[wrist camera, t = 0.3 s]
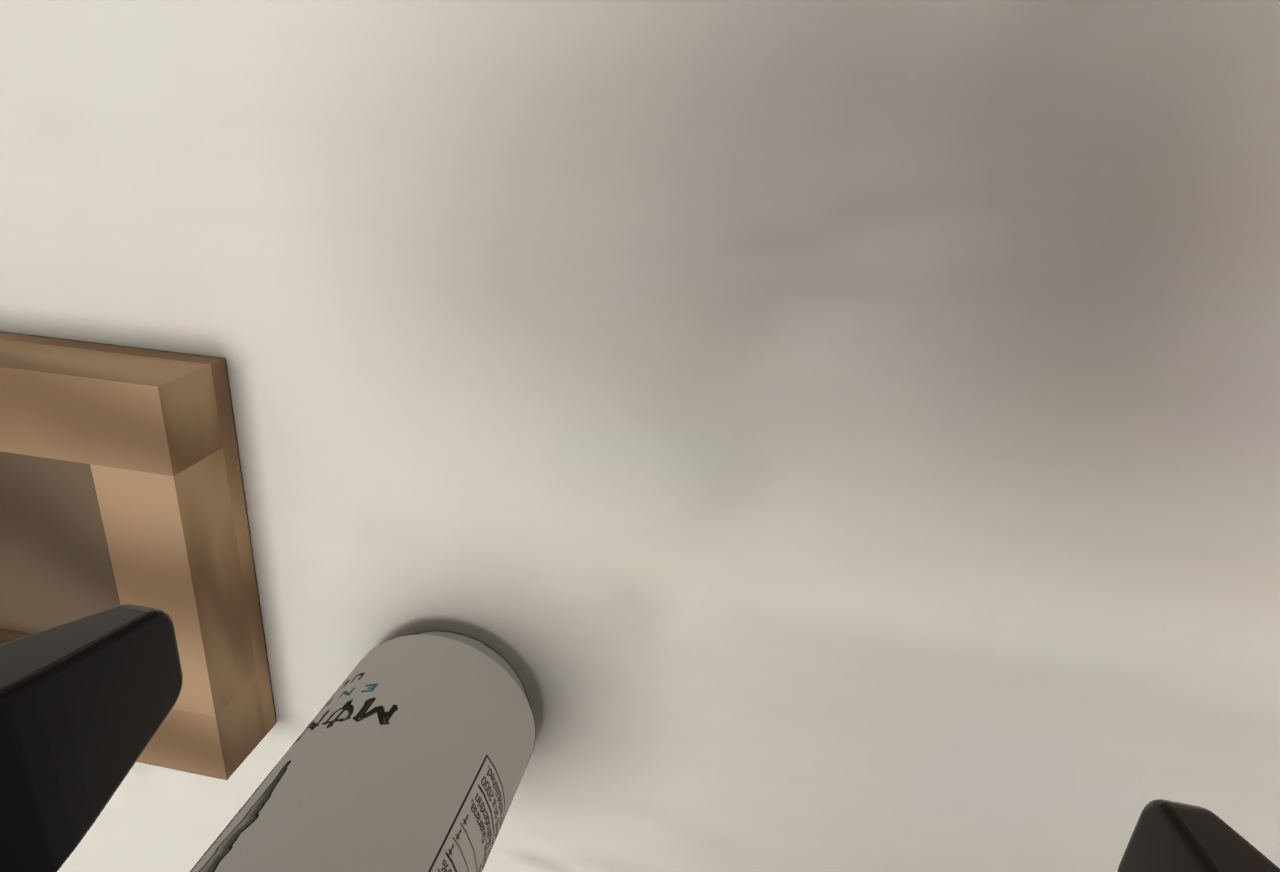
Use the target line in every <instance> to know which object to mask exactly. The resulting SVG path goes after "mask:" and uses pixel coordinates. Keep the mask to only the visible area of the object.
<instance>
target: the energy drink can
mask: <svg viewBox="0 0 1280 872" xmlns="http://www.w3.org/2000/svg"><path fill="white" fill-rule="evenodd" d="M535 734H536V732H535V724H534V717H533V714H532V711H531V709H530V706H529V703H528V701H527V697H526V694H525V691H524V688H523V685H522V683H521V681H520V680H519V678H518V676H517V675H516V673H515V671H514V670H513V669H512V668H511V667H510V665H509V664H508V663H507V662H506V661H505V660H504V659H503V658H502V657H501V656H500V655H498V654H497V653H496V652H495V651H494V650H492V649H491V648H489V647H487V646H486V645H484V644H482V643H481V642H479V641H477V640H474V639H472V638H469V637H467V636H464V635H460V634H456V633H451V632H440V631H433V632H425V633H420V634H416V635H408V636H400V637H397V638H394V639H391V640H388V641H385V642H383V643H382V644H380V645H378V646H377V647H375V648H374V649H372V650H371V651H370V652H369V653H368V654H367V655H366V656H365V657H364V658H363V659H362V660H361V661H360V663H359V664H358V665H357V666H356V667H355V669H354V670H353V671H352V672H351V674H350V675H349V676H348V677H347V679H346V680H345V681H344V682H343V684H342V685H341V686H340V687H339V688H338V690H337V691H336V692H335V693H334V695H333V696H332V697H331V698H330V700H329V701H328V702H327V703H326V704H325V706H324V707H323V708H322V709H321V711H320V712H319V713H318V714H317V716H316V717H315V718H314V719H313V720H312V722H311V723H310V724H309V725H308V727H307V728H306V729H305V730H304V732H303V733H302V734H301V735H300V737H299V738H298V739H297V740H296V741H295V743H294V744H293V745H292V746H291V748H290V749H289V750H288V751H287V753H286V754H285V755H284V756H283V757H282V759H281V760H280V761H279V762H278V764H277V765H276V766H275V767H274V769H273V770H272V771H271V772H270V773H269V775H268V776H267V777H266V778H265V780H264V781H263V782H262V783H261V785H260V786H259V787H258V788H257V790H256V791H255V792H254V793H253V794H252V796H251V797H250V798H249V799H248V801H247V802H246V803H245V804H244V806H243V807H242V808H241V809H240V810H239V812H238V813H237V814H236V815H235V817H234V818H233V819H232V820H231V822H230V823H229V824H228V825H227V826H226V828H225V829H224V830H223V831H222V833H221V834H220V835H219V836H218V838H217V839H216V840H215V841H214V843H213V844H212V845H211V846H210V847H209V849H208V850H207V851H206V852H205V854H204V855H203V856H202V857H201V859H200V860H199V861H198V862H197V863H196V865H195V866H194V867H193V868H192V870H191V871H190V872H482V870H483V868H484V866H485V863H486V861H487V858H488V856H489V854H490V851H491V849H492V847H493V844H494V842H495V840H496V837H497V835H498V833H499V830H500V828H501V826H502V823H503V821H504V818H505V816H506V814H507V811H508V809H509V807H510V804H511V802H512V800H513V797H514V795H515V793H516V790H517V788H518V786H519V783H520V781H521V778H522V776H523V774H524V771H525V769H526V767H527V764H528V762H529V759H530V757H531V754H532V752H533V749H534V743H535Z"/></svg>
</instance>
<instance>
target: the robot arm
mask: <svg viewBox="0 0 1280 872" xmlns="http://www.w3.org/2000/svg"><path fill="white" fill-rule="evenodd" d="M182 682H183V674H182V668H181V662H180V657H179V651H178V645H177V639H176V634H175V628H174V623H173V620H172V619H171V617H170V616H169V614H168V613H167V612H165V611H163V610H160V609H156V608H150V607H145V606H140V605H135V604H123V605H119V606H116V607H113V608H110V609H107V610H104V611H100V612H97V613H94V614H91V615H88V616H85V617H82V618H79V619H76V620H73V621H70V622H67V623H64V624H61V625H58V626H55V627H52V628H49V629H46V630H43V631H40V632H37V633H34V634H31V635H28V636H25V637H22V638H18V639H15V640H12V641H9V642H6V643H3V644H0V872H57V871H58V870H59V868H60V867H61V866H62V865H63V863H64V862H65V861H66V859H67V858H68V857H69V856H70V854H71V853H72V852H73V851H74V849H75V848H76V847H77V845H78V844H79V843H80V841H81V840H82V838H83V837H84V836H85V834H86V833H87V831H88V830H89V829H90V827H91V826H92V825H93V823H94V822H95V820H96V819H97V817H98V816H99V815H100V813H101V812H102V810H103V809H104V807H105V806H106V804H107V803H108V801H109V800H110V798H111V797H112V796H113V794H114V793H115V791H116V790H117V788H118V787H119V785H120V784H121V782H122V781H123V780H124V778H125V777H126V775H127V774H128V772H129V771H130V769H131V768H132V766H133V765H134V763H135V762H136V761H137V759H138V758H139V756H140V755H141V753H142V752H143V750H144V749H145V747H146V746H147V744H148V743H149V742H150V740H151V739H152V737H153V736H154V734H155V733H156V731H157V730H158V728H159V727H160V726H161V724H162V723H163V721H164V720H165V718H166V717H167V715H168V714H169V712H170V711H171V709H172V708H173V707H174V705H175V703H176V701H177V699H178V697H179V695H180V692H181V688H182ZM1118 872H1280V868H1278V867H1277V866H1276V865H1275V864H1274V863H1272V862H1271V861H1270V860H1269V859H1268V858H1266V857H1265V856H1264V855H1263V854H1262V853H1261V852H1259V851H1258V850H1257V849H1256V848H1255V847H1253V846H1252V845H1251V844H1250V843H1249V842H1248V841H1246V840H1245V839H1244V838H1243V837H1242V836H1240V835H1239V834H1238V833H1237V832H1236V831H1234V830H1233V829H1232V828H1231V827H1230V826H1229V825H1227V824H1226V823H1225V822H1224V821H1223V820H1221V819H1220V818H1219V817H1218V816H1216V815H1215V814H1214V813H1212V812H1211V811H1209V810H1207V809H1205V808H1202V807H1199V806H1193V805H1188V804H1183V803H1178V802H1172V801H1167V800H1153V801H1151V802H1149V803H1148V804H1147V805H1146V806H1145V807H1144V809H1143V811H1142V813H1141V815H1140V817H1139V820H1138V822H1137V824H1136V827H1135V829H1134V832H1133V834H1132V836H1131V839H1130V841H1129V843H1128V846H1127V848H1126V850H1125V853H1124V855H1123V858H1122V860H1121V862H1120V865H1119V868H1118Z"/></svg>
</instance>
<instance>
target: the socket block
mask: <svg viewBox="0 0 1280 872" xmlns="http://www.w3.org/2000/svg"><path fill="white" fill-rule="evenodd" d="M123 604H135V605H140V606H145V607H150V608H156V609H160V610H163V611H165V612H167V613H168V614H169V616H170V617H171V619H172V620H173V623H174V628H175V634H176V639H177V645H178V651H179V657H180V662H181V668H182V674H183V682H182V688H181V692H180V695H179V697H178V699H177V701H176V703H175V705H174V707H173V708H172V709H171V711H170V712H169V714H168V715H167V717H166V718H165V720H164V721H163V723H162V724H161V726H160V727H159V728H158V730H157V731H156V733H155V734H154V736H153V737H152V739H151V740H150V742H149V743H148V744H147V746H146V747H145V749H144V750H143V752H142V753H141V755H140V756H139V758H138V759H137V761H136V762H141V763H145V764H150V765H155V766H160V767H165V768H170V769H175V770H180V771H185V772H190V773H194V774H199V775H204V776H209V777H214V778H219V779H224V780H227V779H228V778H229V777H230V776H231V775H232V774H233V772H234V771H235V770H236V769H237V768H238V767H239V765H240V764H241V763H242V762H243V761H244V760H245V759H246V757H247V756H248V755H249V754H250V753H251V752H252V750H253V749H254V748H255V747H256V746H257V745H258V744H259V742H260V741H261V740H262V739H263V738H264V737H265V735H266V734H267V733H268V732H269V731H270V730H271V729H272V727H273V726H274V725H275V724H276V719H275V712H274V705H273V698H272V690H271V683H270V676H269V669H268V662H267V655H266V648H265V641H264V634H263V627H262V619H261V612H260V605H259V598H258V591H257V584H256V577H255V570H254V563H253V556H252V548H251V541H250V534H249V527H248V520H247V513H246V506H245V499H244V492H243V485H242V477H241V470H240V463H239V456H238V449H237V442H236V435H235V428H234V421H233V414H232V406H231V399H230V392H229V385H228V378H227V371H226V364H225V358H216V357H208V356H200V355H191V354H183V353H174V352H166V351H157V350H149V349H141V348H132V347H124V346H115V345H107V344H99V343H90V342H82V341H73V340H65V339H56V338H48V337H40V336H31V335H23V334H14V333H6V332H0V644H3V643H6V642H9V641H12V640H15V639H18V638H22V637H25V636H28V635H31V634H34V633H37V632H40V631H43V630H46V629H49V628H52V627H55V626H58V625H61V624H64V623H67V622H70V621H73V620H76V619H79V618H82V617H85V616H88V615H91V614H94V613H97V612H100V611H104V610H107V609H110V608H113V607H116V606H119V605H123Z"/></svg>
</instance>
